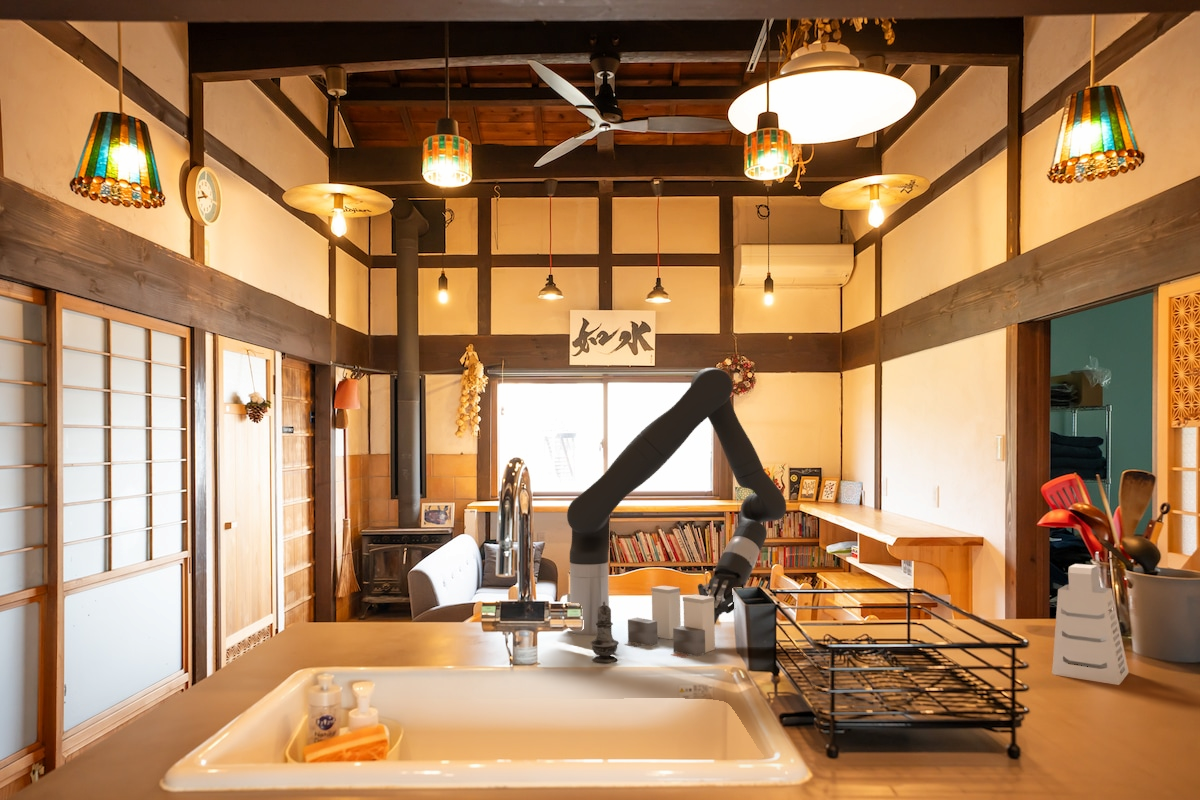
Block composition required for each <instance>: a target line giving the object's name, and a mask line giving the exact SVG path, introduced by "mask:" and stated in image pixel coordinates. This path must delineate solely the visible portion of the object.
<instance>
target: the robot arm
mask: <svg viewBox="0 0 1200 800" xmlns="http://www.w3.org/2000/svg"><path fill="white" fill-rule="evenodd" d="M733 389H734V386H733V380H732V378H731V376H730V375H729V373H727V372H726V371H725V370H723V369H721V368H717V367H705V368H702V369H700V370H699V371H697V372H696V373H695V374H694V376H693V377H692V379H691V383H690V386H689V388H688V389H687V390H686V392H685V393H683V395H682V396H681V397H680V399H679V400H678V401H677V402H676V403H675V404H674V405H673V406H671V407H670V408H669V409H668V410H667V411H665V412H664V413H662V414H661V415H659V416H658V417H657V418H655V419H654V420H653V421H652V422H651V423H649V424H648V425H647V426H646V427H645V428H644V429H643V430H641V431H640V432H639V433H638V434H637V435H636V437H634V438H633V439H632V440H631V442H630V443H629V444H627V446H626V447H625V448H624V450H623V451H621V453H620V454H619V455H618V456H617V458H616V459H615V460H614V461H613V462H612V463H611V464H610V466H609V467H608V469H607V470H606V471H605V472H604V474H603V475H601V477H600V478H599V479H597V480H596V481H595V482H593V484H592V485H591V486H589V487H588V488H587V489H586V490H584V491H583V492H582V493H580V494H579V495H578V496H577V497H575V498H574V499H573V500H572V501H571V502H570V503H569V506H568V508H567V512H566V513H567V514H566V519H567V522H568V525H569V527H570V528H571V544H570V548H569V549H570V550H569V593H568V594H567V595H566V603H567V602H571V603H579V604H580V605H581V606H582V609H583V620H584V629H583V630H582V631H567V630H566V631H567V633H568V632H569V633H571V634H573V635H577V636H578V635H579V636H597V625H596V623H597V622H598V608H599V607H600V606H602V605H603V602H604V601H605V603H606V604H605V605H606V606H608V607H610V604H609V603H610V601H609V599H610V598H609V597H610V595H609V593H610V591H609V589H610V586H609V585H610V584H609V581H610V579H609V552H610V551H609V550H610V515H611V514H612V512H613V511H614V510H615V509H616V508H617V507H618V505H619V504H620V503H621V502H622V501H624V499H625V498H626V497H627V496H628V495H629V494H631V492H633V491H635V490H636V489H637V488H639V487H640V486H641V485H642V484H644V483H645V482H647V480H649V479H650V478H652V477H653V475H655V473H657V471H659V470H660V469H661V468H662V467H663V466H664V465H665V464H666V463H667V462H668V461H669V460H670V458H672V456H673V455H674V454H675V453H676V451H677V450H678V449H680V447H681V446H682V445H683V444H684V443H685V442H686V440H687V439H688V438H689V436H690V435H692V433H693V431H694V430H695V429H696V428H697V427H698V426H699V425H700V424H701V423H703V422H704V421H705V420H706V419H707V418H708V420H709V422H710V424H711V426H712V427H713V430H714V431H715V433H716V435H717V438H718V440H719V442H720V446H721V449H722V450H723V453H724V455H725V457H726V459H727V462H728V464H729V466H730V469H731V472H732V473H733V476H734V478H735V480H736V483H737V484H738V486H739V487H740V488H742V489H743V488H745V489H749V490H751V491H752V492H753V493H751V494H749V495H748V496H747V497H746V498H745V499H744V500H743V502H742V504H741V507H740V512H739V516H738V521H737V522H738V523H737V527H736V529H735V531H734V533H733V535H732V536H731V539H730V540H729V542H728V543H727V544H726V546H725V548H724V550H723V552H722V554H721V556H720V557H719V560H718V561H717V563H716V566H715V568H714V574H713V576H712V577H711V578H710V579H709V580H708V583H706V584H704V585H703V584H702V583H699V584H698V585H697V590H698V595H703V596H710V597H715V601H714V625H716V623H717V621H718V620H719V617H720V616H721V615H722V614H723V613H726V614H729V613H731V612H733V611H734V610H735V609H734V602H733V595H732V588H733V587H742V588H744V587H745V586H746V585H747V582H748V580H749V578H750V577H751V574H752V572H753V570H754V569H755V565H756V564H757V562H758V558H759V554H760V553H761V550H762V548H763V547H764V544H765V542H766V539H767V535H768V532H767V529H766V527H765V525H763V524H762V523H764V522H773V521H779V520H781V519H783V518H784V516H785V514H786V512H787V502H786V499H785V496H784V494H783V493H782V491H781V490H780V489H779V487H778V486H777V484H776V483H775V482H774V481H773V479H772V477H770V476H769V475H768V474H767V472H766V471H765V468H764V467H763V464H762V461H761V460H760V457H759V455H758V453H757V450H756V449H755V447H754V445H753V443H752V441H751V440H750V438H749V436H748V435H747V433H746V431H745V429H744V428H743V425H742V424H741V423H740V421H739V419H738V417H737V414H736V412H735V409H734V406H733V403H732V400H731V396H732V393H733ZM744 589H745V588H744Z"/></svg>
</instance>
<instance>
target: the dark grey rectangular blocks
mask: <svg viewBox="0 0 1200 800" xmlns="http://www.w3.org/2000/svg"><path fill="white" fill-rule="evenodd" d="M658 638H659V637H658V636H657V621H653V620H652V619H646V618H642V617H634V618H628V619H627V641H628V643H624V645H625V646H629V647H632V648H635V647H640V646H642V645H643V646H653V645H657V644H658ZM672 640H673V641H672V642H673V644H672V645H673V648H672V649H673V653H671V654H670V656H673V657H674V656H675V657H677V658H678V657H679V658H685V657H689V656H693V657H699V656H702V655H706V652H705V630H702V629H696V628H691V627H686V626H684V625H681V626H680V627H676V628H673V638H672ZM674 652H675V653H674Z"/></svg>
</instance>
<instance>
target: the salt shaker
mask: <svg viewBox="0 0 1200 800" xmlns="http://www.w3.org/2000/svg"><path fill="white" fill-rule="evenodd" d="M605 604H606V603H605V601H604V602H603V605H602V606H600V607H599V608H598V622H597V623H596V625H597V635H596V638H595V640H592V641H590V645H591V649H592V651H593V653H594V655H596V656H595V657H593V658H592V659H591V661H592V663H595V664H600V665H601V664H603V665H607V664H613V663H616V662H617V661H618V658H617V657H615V656H613V655H614V654H615V653H616V651H618V650H617V649H618V645H619V643H620V642H619V641H618V640H615V639H614V638H613V635H612V626H613V625H614V624H613V622H612V609H611V608H610V606H609V607H608V606H606V605H605Z"/></svg>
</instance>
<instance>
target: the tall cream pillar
mask: <svg viewBox="0 0 1200 800" xmlns="http://www.w3.org/2000/svg"><path fill="white" fill-rule="evenodd" d="M650 590H651V591H650V592H651V606H652V607H651V614H652V615H651V616H652V617H651V620H653V621H657V636H658V638H662V639H666V640H671V639H672V640H673V628H676V627H680V626H682V625H681V623H682V622H681V592H682V591H681V587H677V586H672V585H671V586H669V585H658V586H653V587H651V588H650Z"/></svg>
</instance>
